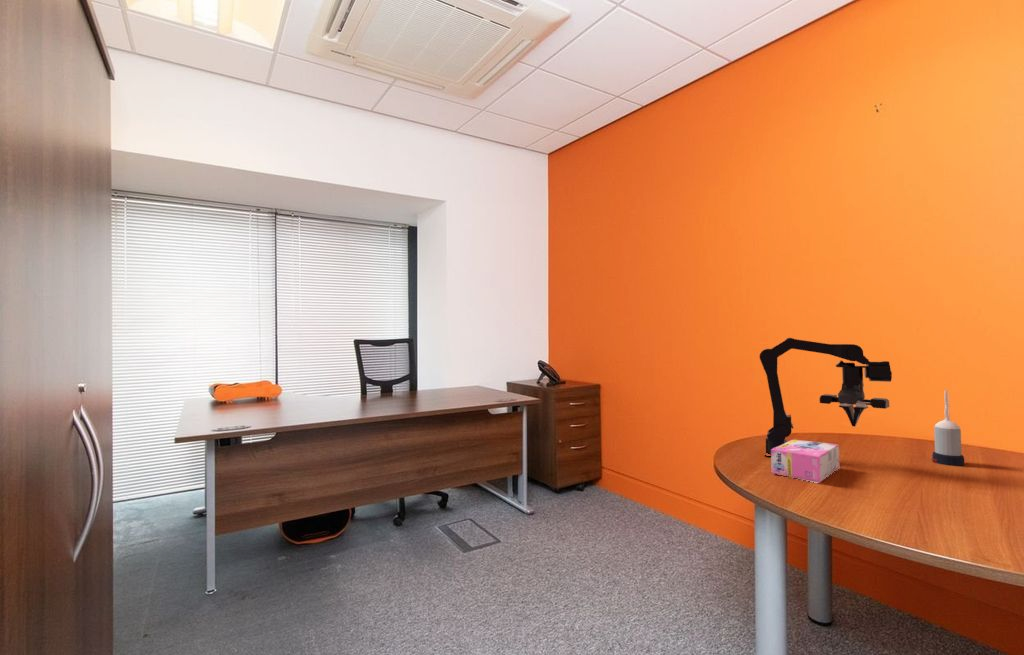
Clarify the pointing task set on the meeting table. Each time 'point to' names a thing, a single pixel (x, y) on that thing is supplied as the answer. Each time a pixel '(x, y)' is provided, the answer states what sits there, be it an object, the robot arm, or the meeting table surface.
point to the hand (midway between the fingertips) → (853, 426)
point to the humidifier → (947, 441)
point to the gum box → (805, 459)
